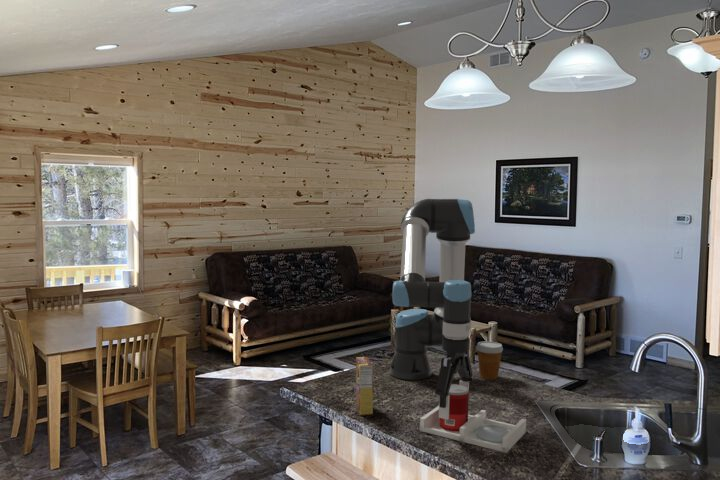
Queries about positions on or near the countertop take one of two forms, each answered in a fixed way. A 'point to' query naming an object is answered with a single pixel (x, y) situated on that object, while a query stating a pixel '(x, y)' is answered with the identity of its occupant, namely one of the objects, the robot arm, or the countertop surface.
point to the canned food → (456, 408)
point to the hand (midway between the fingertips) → (453, 410)
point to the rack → (474, 430)
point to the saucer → (491, 433)
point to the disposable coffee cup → (489, 359)
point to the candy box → (364, 385)
